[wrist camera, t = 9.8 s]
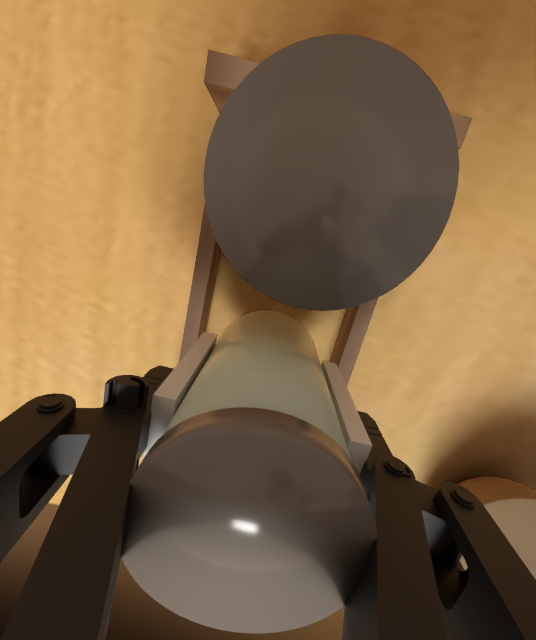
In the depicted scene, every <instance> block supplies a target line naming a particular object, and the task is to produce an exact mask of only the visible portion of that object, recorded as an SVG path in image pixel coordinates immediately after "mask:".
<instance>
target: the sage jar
mask: <svg viewBox="0 0 536 640" xmlns="http://www.w3.org/2000/svg"><path fill="white" fill-rule="evenodd" d="M129 483H130V490H129V498H128V505H127V513H126V521H125V528H124V536H123V544H122V551H121V558H122V559H123V562H124V564H125V566H126V568H127V569H128V571H129V572H130V574H131V575H132V577H133V578H134V580H135V581H136V582H137V583H138V584H139V585H140V586H141V588H142V589H143V590H144V591H145V592H147V593H148V594H149V595H150V596H151V597H152V598H153V599H155V600H156V601H157V602H159V603H160V604H161V605H163V606H164V607H166V608H167V609H169V610H171V611H172V612H174V613H176V614H178V615H180V616H182V617H184V618H186V619H188V620H191V621H193V622H196V623H199V624H202V625H205V626H208V627H212V628H216V629H220V630H226V631H232V632H241V633H272V632H281V631H286V630H292V629H296V628H300V627H303V626H306V625H310V624H311V623H314V622H317V621H319V620H322V619H324V618H326V617H327V616H329V615H331V614H333V613H335V612H336V611H338V610H339V609H340V608H342V607H343V606H345V605H346V603H347V601H348V599H349V597H350V594H351V592H352V590H353V588H354V586H355V584H356V581H357V579H358V577H359V575H360V573H361V571H362V569H363V566H364V564H365V562H366V560H367V558H368V556H369V553H370V551H371V549H372V547H373V545H374V543H375V540H376V538H378V534H377V528H376V522H375V519H374V516H373V513H372V510H371V507H370V504H369V501H368V498H367V495H366V492H365V489H364V486H363V483H362V480H361V477H360V475H359V472H358V470H357V469H356V467H355V465H354V463H353V461H352V460H351V458H350V455H349V452H348V449H347V445H346V442H345V439H344V436H343V433H342V430H341V426H340V423H339V420H338V417H337V414H336V411H335V408H334V404H333V401H332V398H331V395H330V392H329V389H328V385H327V382H326V379H325V376H324V373H323V370H322V366H321V363H320V360H319V357H318V354H317V351H316V347H315V344H314V342H313V339H312V337H311V335H310V334H309V332H308V331H307V329H306V328H305V327H304V326H303V325H302V324H301V323H300V322H299V321H297V320H296V319H294V318H293V317H291V316H289V315H287V314H284V313H281V312H278V311H272V310H260V311H254V312H250V313H247V314H245V315H243V316H241V317H239V318H237V319H236V320H234V321H233V322H232V323H231V324H230V325H229V326H228V327H227V328H226V329H225V331H224V332H223V334H222V336H221V337H220V339H219V341H218V342H217V344H216V346H215V347H214V349H213V351H212V352H211V354H210V356H209V357H208V359H207V361H206V362H205V364H204V366H203V367H202V369H201V371H200V373H199V374H198V376H197V378H196V379H195V381H194V383H193V384H192V386H191V388H190V389H189V391H188V393H187V394H186V396H185V398H184V399H183V401H182V403H181V404H180V406H179V408H178V409H177V411H176V413H175V415H174V416H173V418H172V420H171V421H170V423H169V425H168V426H167V428H166V430H165V431H164V433H163V435H162V436H161V437H160V438H159V439H158V440H157V441H156V442H155V443H154V445H153V446H152V447H151V448H150V449H149V451H148V453H147V454H146V456H145V457H144V459H143V461H142V462H141V464H140V466H139V467H138V469H137V470H136V472H135V474H134V475H133V477H132V479H131V480H130V482H129Z"/></svg>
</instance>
